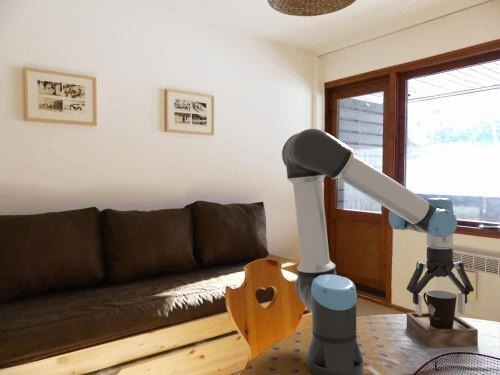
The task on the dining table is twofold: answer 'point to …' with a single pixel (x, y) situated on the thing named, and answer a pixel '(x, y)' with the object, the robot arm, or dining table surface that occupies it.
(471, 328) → the wooden tray
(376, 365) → the dining table surface
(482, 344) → the dining table surface
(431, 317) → the coffee mug
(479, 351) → the dining table surface
